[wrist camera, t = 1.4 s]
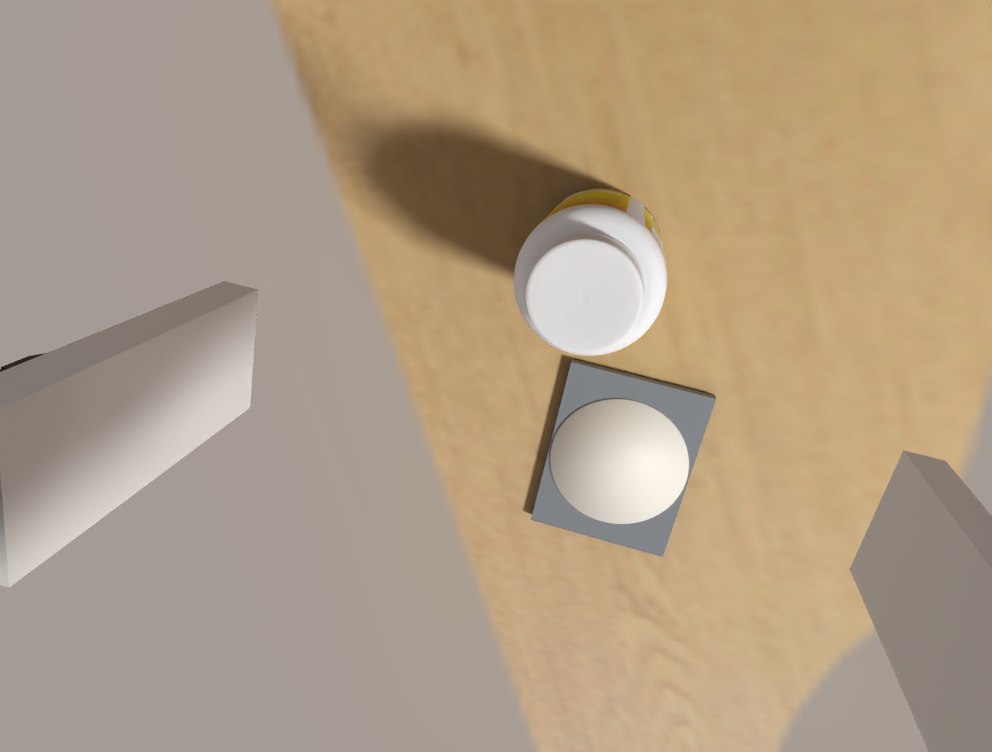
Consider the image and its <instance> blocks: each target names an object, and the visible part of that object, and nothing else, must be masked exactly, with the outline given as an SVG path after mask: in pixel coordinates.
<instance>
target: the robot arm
mask: <svg viewBox="0 0 992 752" xmlns="http://www.w3.org/2000/svg"><path fill="white" fill-rule="evenodd" d="M257 296H258V289H254V288H249V287H245V286H241V285H237V284H233V283H229V282H225V281H223V282H221V283H219V284H216V285H214V286H211V287H209V288H206V289H204V290H201V291H199V292H196V293H194V294H191V295H189V296H186V297H184V298H182V299H179V300H177V301H174V302H172V303H169V304H167V305H164V306H162V307H159V308H157V309H154V310H152V311H149V312H147V313H145V314H142V315H140V316H137V317H135V318H132V319H130V320H127V321H125V322H122V323H120V324H117V325H115V326H112V327H110V328H108V329H105V330H103V331H100V332H98V333H95V334H93V335H90V336H88V337H85V338H83V339H80V340H78V341H76V342H73V343H71V344H68V345H66V346H63V347H61V348H58V349H56V350H53V351H51V352H48V353H44V354H39V355H34V356H28V357H26V358H23V359H21V360H18V361H15V362H13V363H11V364H8V365H5V366H3V367H1V370H0V585H3V586H6V587H10V586H12V585H13V584H14V583H15V582H17V581H19V580H20V579H21V578H23V577H24V576H25V575H26V574H28V573H29V572H30V571H32V570H33V569H35V568H36V567H37V566H39V565H40V564H41V563H43V562H44V561H45V560H46V559H48V558H49V557H51V556H52V555H53V554H55V553H56V552H57V551H59V550H60V549H61V548H63V547H64V546H65V545H67V544H68V543H69V542H70V541H72V540H73V539H74V538H76V537H77V536H79V535H80V534H81V533H83V532H84V531H85V530H87V529H88V528H89V527H91V526H92V525H93V524H95V523H96V522H97V521H99V520H100V519H101V518H103V517H104V516H106V515H107V514H108V513H110V512H111V511H112V510H114V509H115V508H116V507H117V506H119V505H120V504H122V503H123V502H124V501H126V500H127V499H128V498H130V497H131V496H132V495H134V494H135V493H136V492H138V491H139V490H140V489H142V488H143V487H144V486H146V485H147V484H148V483H150V482H151V481H152V480H154V479H155V478H156V477H158V476H159V475H160V474H162V473H163V472H164V471H165V470H167V469H168V468H170V467H171V466H172V465H174V464H175V463H176V462H178V461H179V460H180V459H182V458H183V457H184V456H186V455H187V454H188V453H190V452H191V451H193V450H194V449H195V448H197V447H198V446H199V445H201V444H202V443H203V442H205V441H206V440H207V439H208V438H210V437H211V436H213V435H214V434H215V433H217V432H218V431H219V430H221V429H222V428H223V427H225V426H226V425H227V424H229V423H230V422H231V421H233V420H234V419H235V418H237V417H238V416H239V415H241V414H242V413H243V412H245V411H246V410H247V409H249V408H250V399H251V385H252V370H253V355H254V341H255V326H256V311H257ZM850 571H851V573H852V575H853V578H854V580H855V582H856V585H857V587H858V589H859V592H860V594H861V596H862V598H863V601H864V603H865V605H866V608H867V610H868V612H869V615H870V617H871V619H872V622H873V624H874V626H875V628H876V631H877V633H878V635H879V638H880V640H881V642H882V644H883V647H884V649H885V652H886V654H887V656H888V658H889V661H890V663H891V665H892V668H893V670H894V672H895V675H896V677H897V679H898V682H899V684H900V686H901V688H902V691H903V693H904V695H905V698H906V700H907V702H908V704H909V707H910V709H911V711H912V714H913V716H914V718H915V720H916V723H917V725H918V728H919V730H920V732H921V735H922V737H923V739H924V742H925V744H926V746H927V748H928V751H929V752H992V516H991V515H990V514H989V512H988V511H987V510H986V509H985V507H984V506H983V505H982V504H981V503H980V501H979V500H978V499H977V498H976V497H975V496H974V494H973V493H972V492H971V491H970V489H969V488H968V487H967V486H966V485H965V484H964V482H963V481H962V480H961V479H960V478H959V476H958V475H957V474H956V473H955V472H954V470H953V469H952V468H951V467H950V466H949V464H948V463H947V462H946V461H944V460H940V459H936V458H932V457H928V456H924V455H920V454H916V453H912V452H908V451H904V450H903V453H902V455H901V457H900V459H899V462H898V464H897V466H896V468H895V470H894V473H893V475H892V477H891V479H890V481H889V484H888V486H887V488H886V490H885V492H884V495H883V497H882V499H881V501H880V504H879V506H878V508H877V510H876V512H875V515H874V517H873V519H872V521H871V523H870V526H869V528H868V530H867V532H866V534H865V537H864V539H863V541H862V543H861V546H860V548H859V550H858V552H857V554H856V557H855V559H854V561H853V563H852V565H851V568H850Z"/></svg>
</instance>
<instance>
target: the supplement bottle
mask: <svg viewBox="0 0 992 752" xmlns="http://www.w3.org/2000/svg"><path fill="white" fill-rule="evenodd" d="M666 286H667V272H666V264H665V258H664V252H663V246H662V240H661V235H660V232H659V229H658V226H657V224H656V222H655V220H654V218H653V216H652V215H651V213H650V212H649V211H648V210H647V208H646V207H645V206H644V205H643V204H642V203H641V202H639V201H638V200H637V199H635V198H634V197H632V196H631V195H629V194H626V193H624V192H622V191H618V190H615V189H608V188H593V189H587V190H583V191H580V192H578V193H575V194H573V195H571V196H569V197H568V198H566V199H565V200H563V201H562V202H561V203H560V204H559V205H557V206H556V207H555V208H554V209H553V210H552V211H551V213H550V214H549V215H547V216H546V217H545V218H544V219H543V220H542V221H541V222H540V223H539V224H538V225H537V226H536V228H535V229H534V230H533V231H532V232H531V233H530V235H529V236H528V238H527V239H526V241H525V242H524V244H523V246H522V248H521V250H520V252H519V255H518V258H517V261H516V265H515V272H514V291H515V297H516V301H517V304H518V307H519V309H520V312H521V314H522V316H523V318H524V319H525V321H526V322H527V324H528V325H529V326H530V328H531V329H532V330H533V331H534V332H535V333H536V334H537V335H538V336H539V337H540V338H541V339H542V340H544V341H545V342H547V343H548V344H550V345H551V346H553V347H555V348H557V349H559V350H562V351H565V352H568V353H572V354H577V355H587V356H594V355H602V354H608V353H611V352H615V351H617V350H620V349H622V348H624V347H626V346H628V345H630V344H631V343H633V342H634V341H636V340H637V339H638V338H640V337H641V336H642V335H643V334H644V333H645V332H646V331H647V330H648V329H649V328H650V326H651V325H652V324H653V322H654V321H655V319H656V317H657V316H658V314H659V312H660V309H661V307H662V304H663V301H664V298H665V293H666Z"/></svg>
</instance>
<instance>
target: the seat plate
mask: <svg viewBox="0 0 992 752" xmlns="http://www.w3.org/2000/svg"><path fill="white" fill-rule="evenodd" d="M715 400H716V397H715V395H712V394H708V393H704V392H700V391H696V390H692V389H688V388H684V387H680V386H676V385H672V384H669V383H665V382H661V381H657V380H653V379H649V378H645V377H641V376H637V375H633V374H629V373H625V372H622V371H618V370H614V369H610V368H606V367H602V366H598V365H594V364H590V363H586V362H582V361H579V360H575V359H572V361H571V365H570V369H569V373H568V377H567V380H566V384H565V388H564V392H563V396H562V400H561V404H560V408H559V412H558V416H557V420H556V424H555V427H554V431H553V435H552V439H551V443H550V447H549V451H548V455H547V459H546V463H545V467H544V470H543V474H542V478H541V482H540V486H539V490H538V494H537V498H536V502H535V506H534V510H533V513H532V517H531V520H534V521H537V522H541V523H544V524H548V525H551V526H555V527H558V528H562V529H565V530H569V531H573V532H576V533H580V534H583V535H587V536H590V537H594V538H597V539H601V540H604V541H608V542H612V543H615V544H619V545H622V546H626V547H629V548H633V549H636V550H640V551H644V552H647V553H651V554H654V555H658V556H661V557H663V554H664V551H665V548H666V545H667V542H668V539H669V536H670V533H671V530H672V527H673V524H674V521H675V518H676V515H677V512H678V509H679V507H680V504H681V501H682V498H683V495H684V492H685V489H686V486H687V483H688V480H689V477H690V474H691V471H692V468H693V465H694V462H695V459H696V456H697V453H698V450H699V447H700V445H701V442H702V439H703V436H704V433H705V430H706V427H707V424H708V421H709V418H710V415H711V412H712V409H713V406H714V403H715Z"/></svg>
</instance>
